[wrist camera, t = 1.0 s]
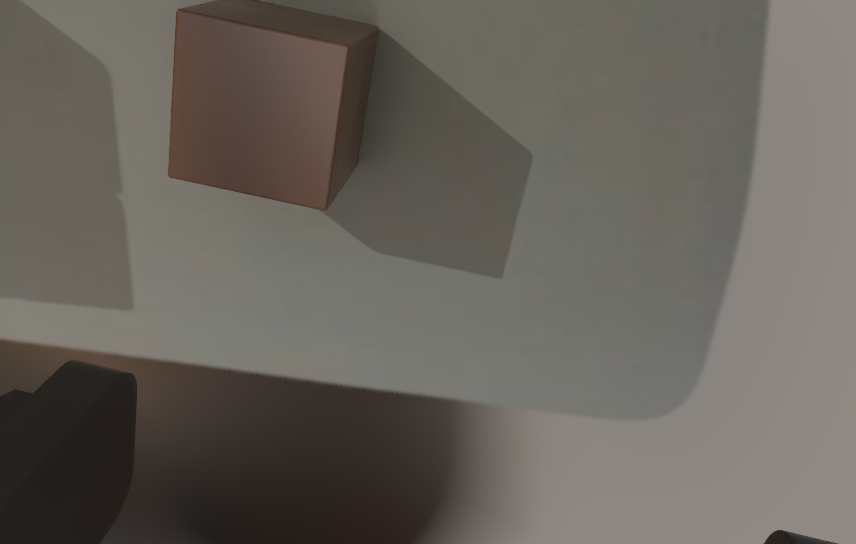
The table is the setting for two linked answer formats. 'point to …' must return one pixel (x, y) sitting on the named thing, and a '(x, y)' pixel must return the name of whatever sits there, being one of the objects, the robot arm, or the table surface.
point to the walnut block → (268, 99)
